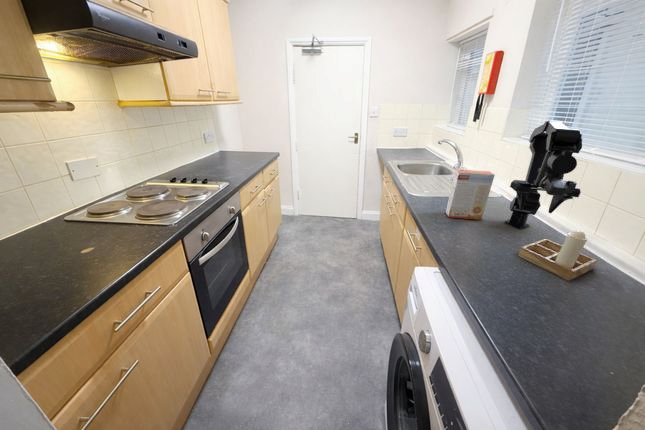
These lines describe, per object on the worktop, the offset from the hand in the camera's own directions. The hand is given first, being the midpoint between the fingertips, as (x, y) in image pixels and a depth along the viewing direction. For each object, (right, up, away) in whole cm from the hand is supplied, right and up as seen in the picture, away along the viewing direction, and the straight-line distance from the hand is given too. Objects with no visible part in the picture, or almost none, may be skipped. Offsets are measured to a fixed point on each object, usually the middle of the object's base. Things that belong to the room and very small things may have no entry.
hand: (535, 211), depth 94 cm
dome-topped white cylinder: (0, -18, -10) cm, 21 cm away
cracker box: (-12, -2, +26) cm, 29 cm away
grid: (+2, -17, -6) cm, 18 cm away
